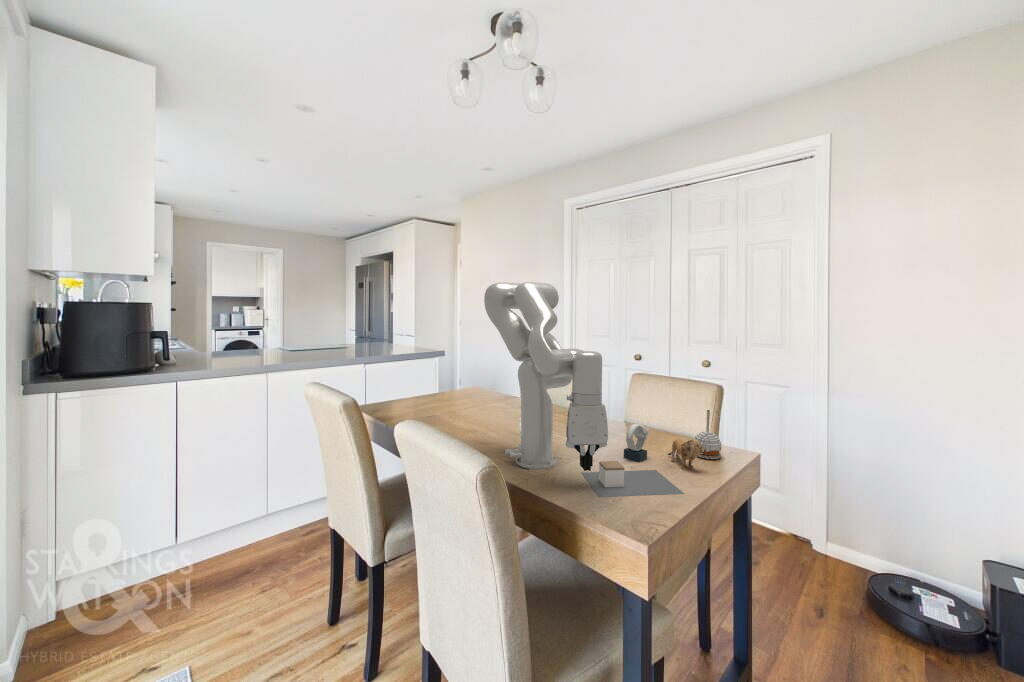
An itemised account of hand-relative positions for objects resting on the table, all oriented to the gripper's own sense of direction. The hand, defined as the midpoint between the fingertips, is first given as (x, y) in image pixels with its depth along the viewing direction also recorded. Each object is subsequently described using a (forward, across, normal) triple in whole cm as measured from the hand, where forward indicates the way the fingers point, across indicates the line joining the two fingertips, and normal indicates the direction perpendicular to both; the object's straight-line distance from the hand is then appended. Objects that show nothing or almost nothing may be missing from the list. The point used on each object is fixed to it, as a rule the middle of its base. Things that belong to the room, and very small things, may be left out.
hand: (586, 468), depth 108 cm
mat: (+5, +12, 0) cm, 13 cm away
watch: (+5, +21, +18) cm, 28 cm away
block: (+4, +7, 0) cm, 8 cm away
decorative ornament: (+5, +45, +20) cm, 49 cm away
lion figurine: (+5, +34, +13) cm, 36 cm away
